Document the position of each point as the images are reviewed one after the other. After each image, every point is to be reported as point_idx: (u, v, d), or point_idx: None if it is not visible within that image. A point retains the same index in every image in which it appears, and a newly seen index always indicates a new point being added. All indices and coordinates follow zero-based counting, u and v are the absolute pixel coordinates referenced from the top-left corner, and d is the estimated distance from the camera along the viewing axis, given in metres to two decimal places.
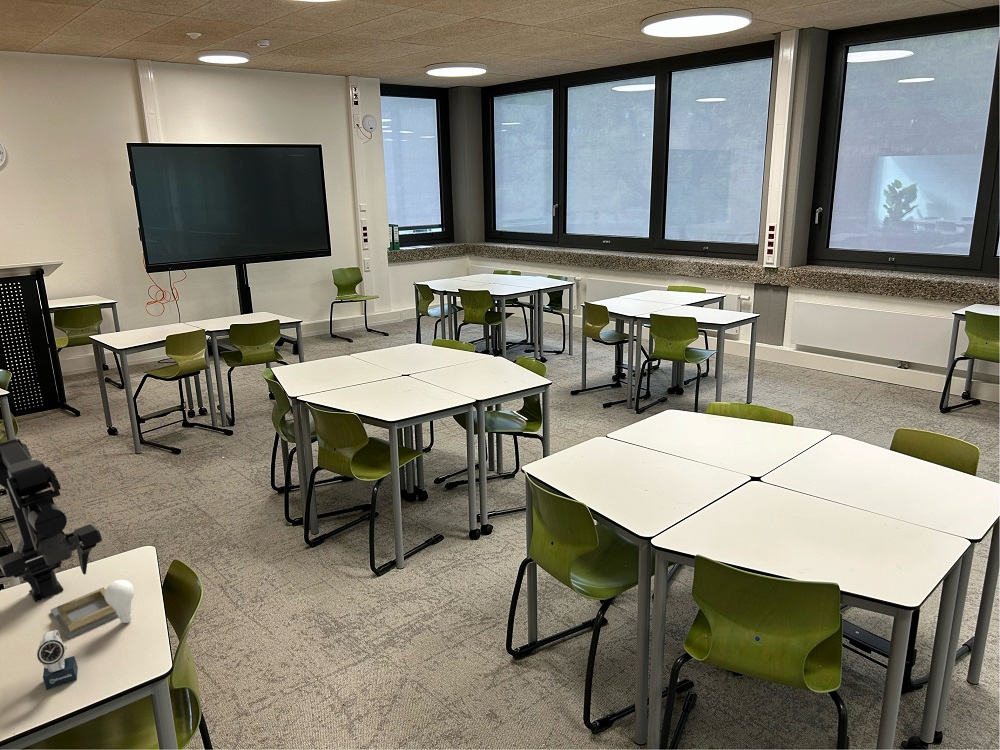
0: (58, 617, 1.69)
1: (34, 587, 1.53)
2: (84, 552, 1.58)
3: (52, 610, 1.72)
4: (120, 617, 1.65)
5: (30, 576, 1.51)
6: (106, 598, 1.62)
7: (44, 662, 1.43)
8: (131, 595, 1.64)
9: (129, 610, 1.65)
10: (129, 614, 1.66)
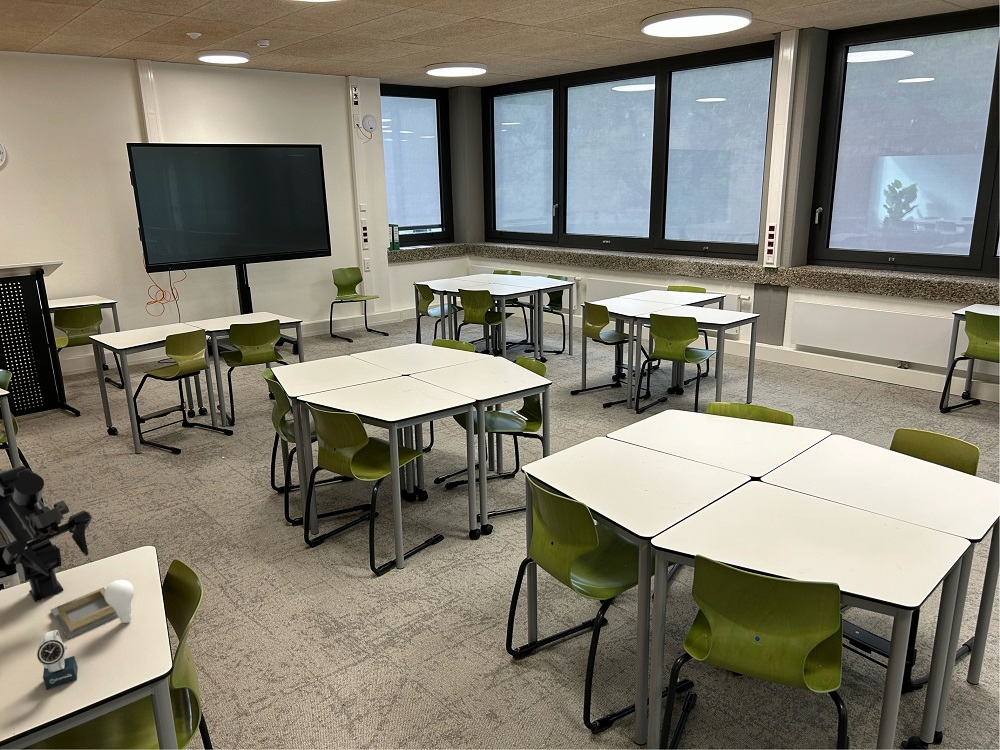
0: (58, 617, 1.69)
1: (41, 567, 1.63)
2: (79, 529, 1.71)
3: (52, 610, 1.72)
4: (120, 617, 1.65)
5: (34, 555, 1.63)
6: (106, 598, 1.62)
7: (44, 662, 1.43)
8: (131, 595, 1.64)
9: (129, 610, 1.65)
10: (129, 614, 1.66)
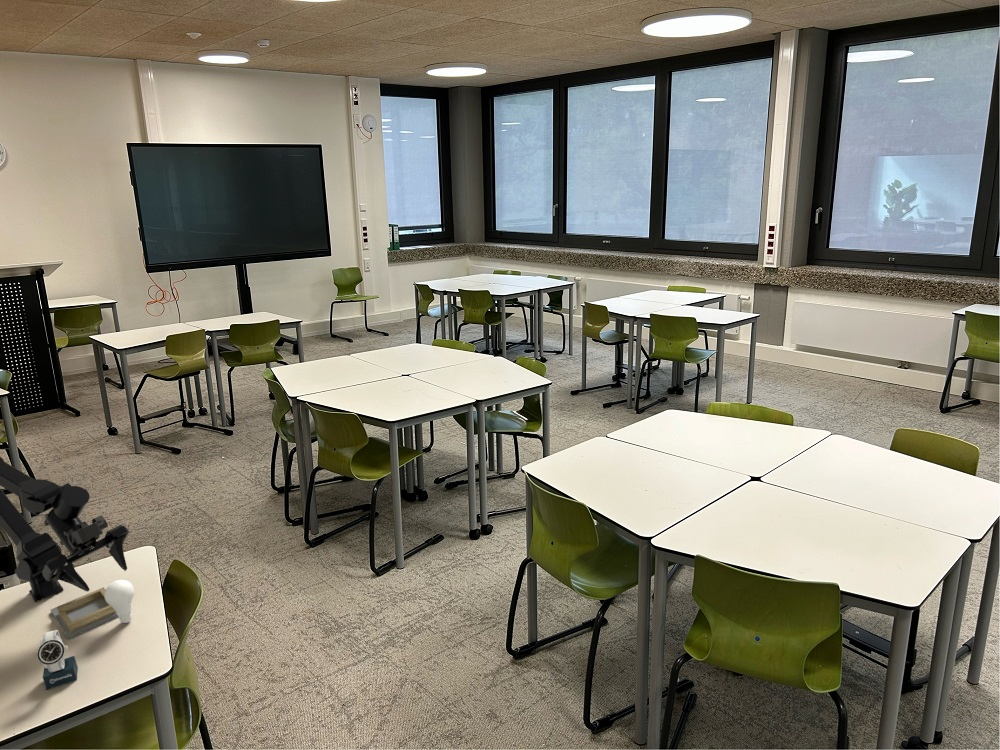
0: (58, 617, 1.69)
1: (82, 583, 1.61)
2: (117, 544, 1.69)
3: (52, 610, 1.72)
4: (120, 617, 1.65)
5: (74, 572, 1.61)
6: (106, 598, 1.62)
7: (44, 662, 1.43)
8: (131, 595, 1.64)
9: (129, 610, 1.65)
10: (129, 614, 1.66)
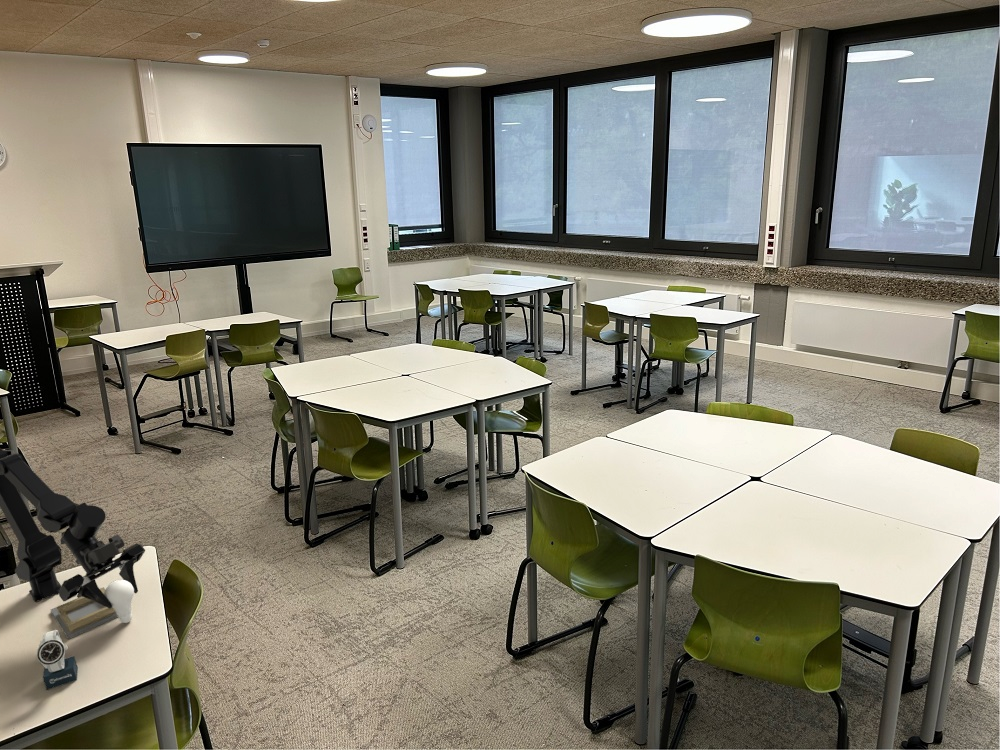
0: (58, 617, 1.69)
1: (105, 600, 1.61)
2: (128, 566, 1.67)
3: (52, 610, 1.72)
4: (120, 617, 1.65)
5: (97, 588, 1.61)
6: None
7: (44, 662, 1.43)
8: (131, 595, 1.64)
9: (129, 610, 1.65)
10: (129, 614, 1.66)
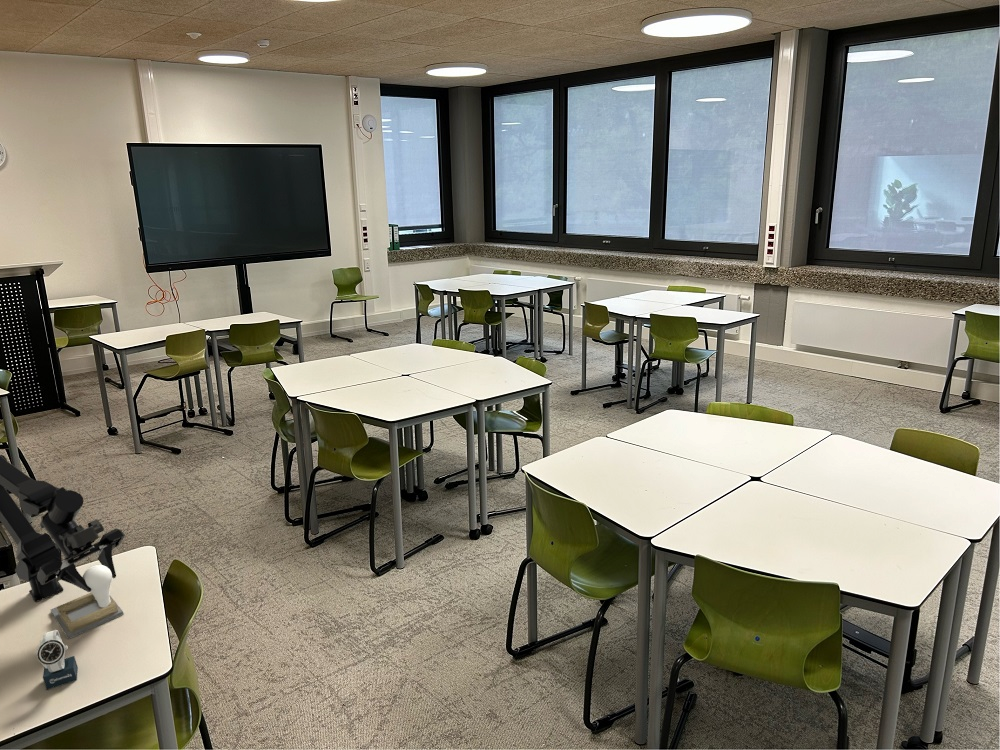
0: (58, 617, 1.69)
1: (84, 583, 1.61)
2: (106, 551, 1.67)
3: (52, 610, 1.72)
4: (98, 602, 1.65)
5: (76, 572, 1.61)
6: None
7: (44, 662, 1.43)
8: (109, 580, 1.64)
9: (107, 595, 1.66)
10: (107, 599, 1.66)
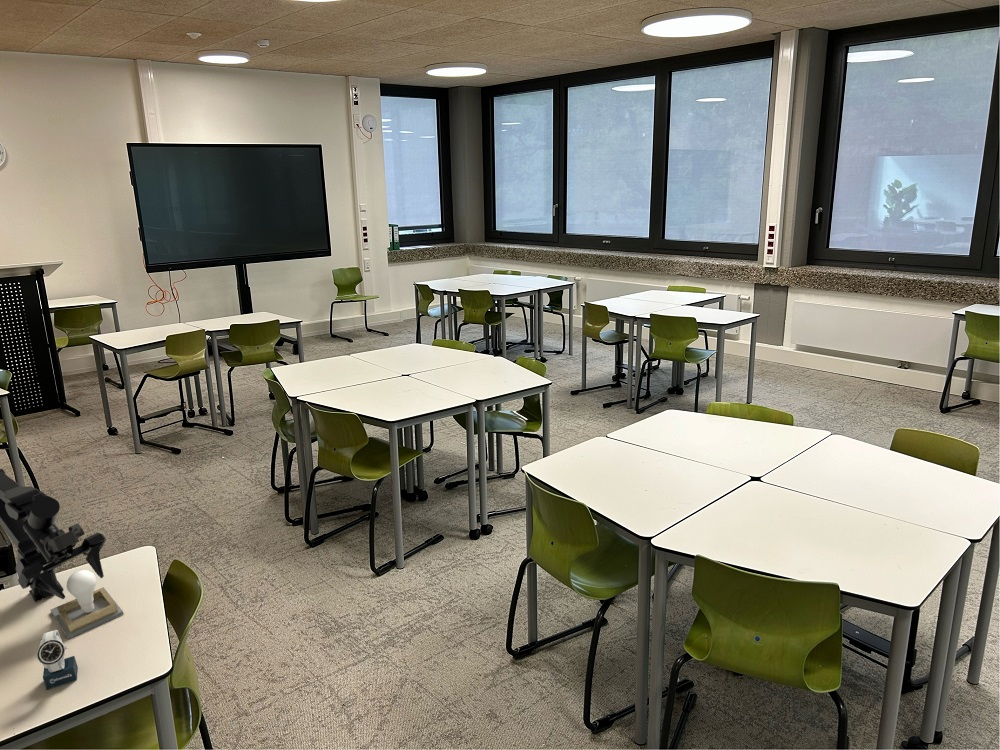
0: (58, 617, 1.69)
1: (58, 590, 1.62)
2: (94, 552, 1.71)
3: (52, 610, 1.72)
4: (82, 607, 1.68)
5: (50, 579, 1.62)
6: (68, 587, 1.65)
7: (44, 662, 1.43)
8: (93, 584, 1.68)
9: (91, 600, 1.69)
10: (91, 604, 1.69)
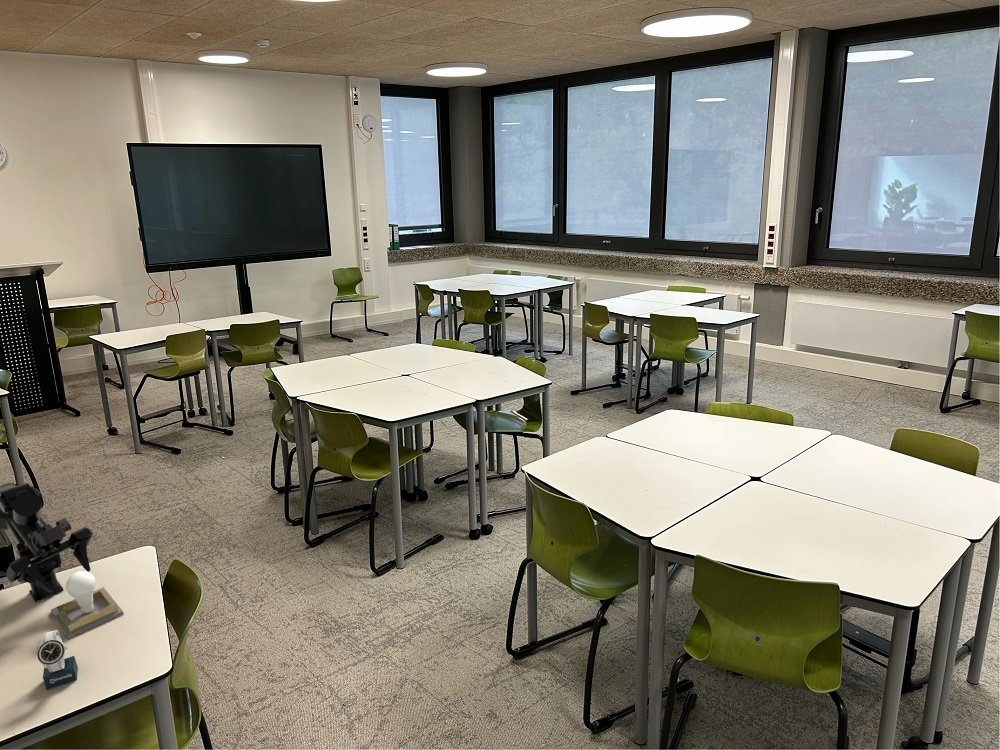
0: (58, 617, 1.69)
1: (45, 584, 1.65)
2: (81, 546, 1.74)
3: (52, 610, 1.72)
4: (82, 607, 1.68)
5: (37, 573, 1.65)
6: (67, 589, 1.65)
7: (44, 662, 1.43)
8: (92, 586, 1.67)
9: (91, 600, 1.69)
10: (91, 604, 1.69)
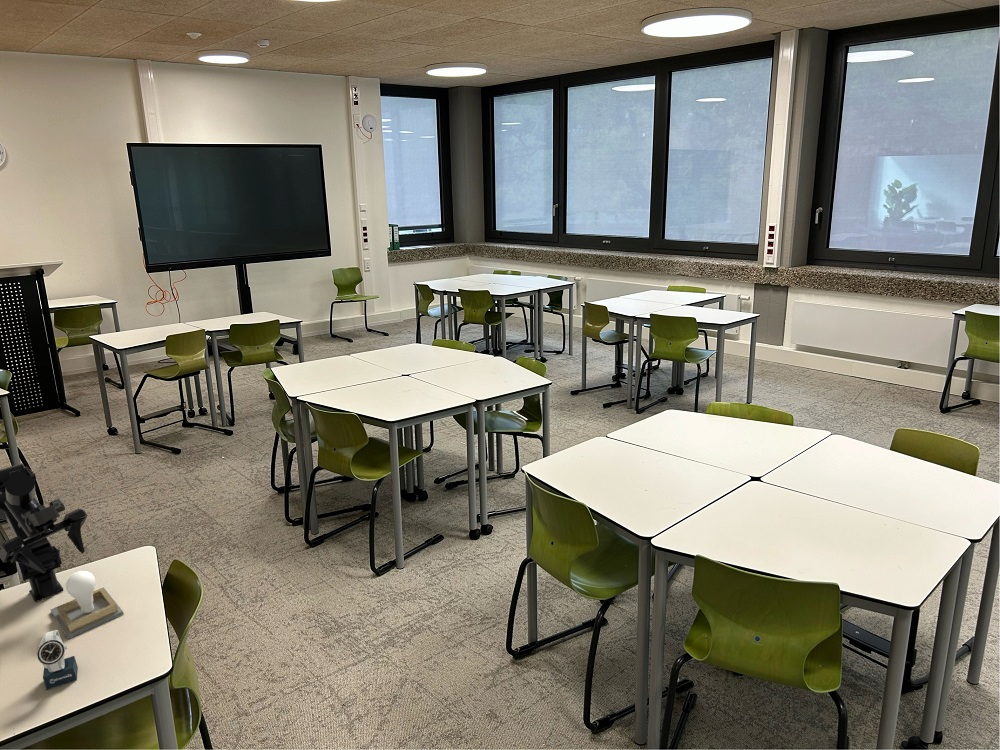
0: (58, 617, 1.69)
1: (38, 564, 1.64)
2: (75, 527, 1.72)
3: (52, 610, 1.72)
4: (82, 607, 1.68)
5: (31, 553, 1.64)
6: (67, 589, 1.65)
7: (44, 662, 1.43)
8: (92, 585, 1.67)
9: (91, 600, 1.69)
10: (91, 604, 1.69)
